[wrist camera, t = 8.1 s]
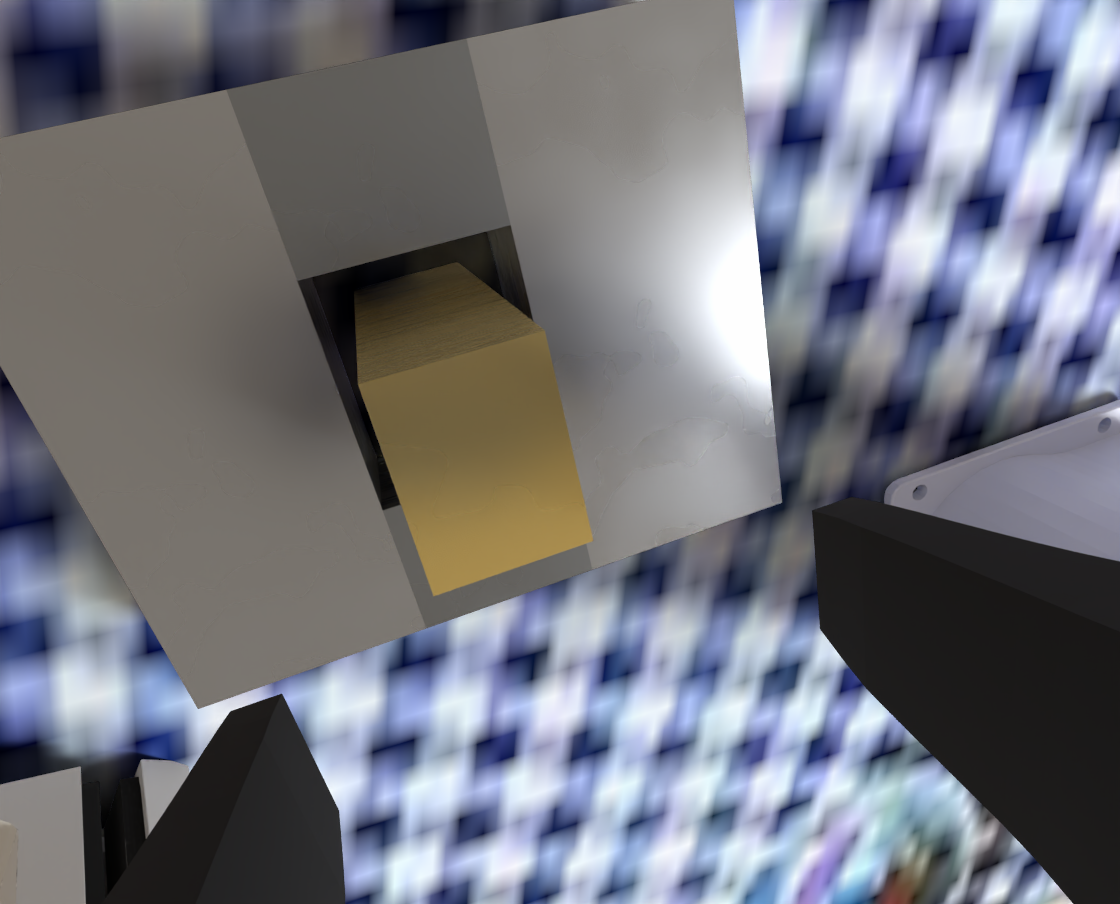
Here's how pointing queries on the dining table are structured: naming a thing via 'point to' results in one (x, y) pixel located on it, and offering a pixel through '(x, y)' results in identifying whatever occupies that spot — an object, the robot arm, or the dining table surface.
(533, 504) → the wood grain block
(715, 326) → the grey slotted plate
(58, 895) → the white angular device
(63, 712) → the dining table surface
